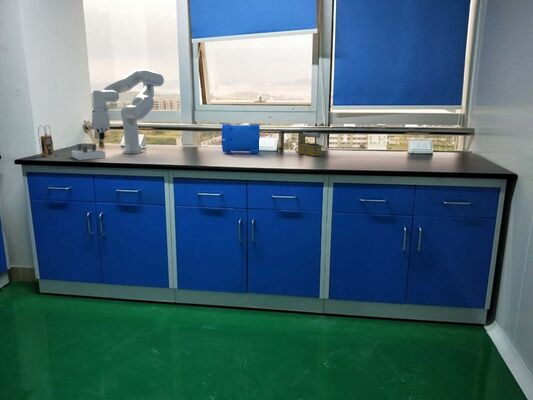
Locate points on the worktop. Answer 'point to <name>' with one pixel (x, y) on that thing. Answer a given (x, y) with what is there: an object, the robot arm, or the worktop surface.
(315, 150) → the geiger counter
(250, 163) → the worktop surface
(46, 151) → the multimeter
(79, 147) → the breaker
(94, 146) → the breaker
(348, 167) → the worktop surface
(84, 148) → the breaker
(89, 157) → the breaker panel
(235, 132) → the blue plastic case
